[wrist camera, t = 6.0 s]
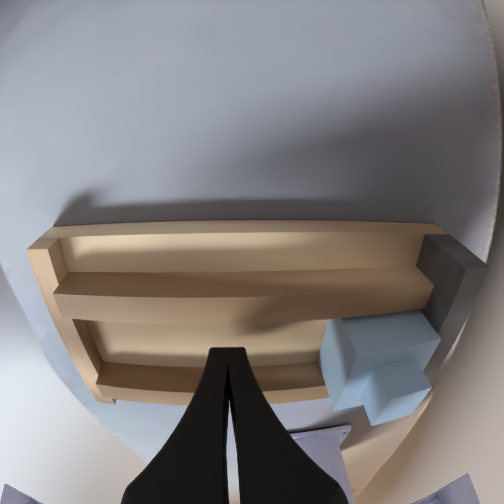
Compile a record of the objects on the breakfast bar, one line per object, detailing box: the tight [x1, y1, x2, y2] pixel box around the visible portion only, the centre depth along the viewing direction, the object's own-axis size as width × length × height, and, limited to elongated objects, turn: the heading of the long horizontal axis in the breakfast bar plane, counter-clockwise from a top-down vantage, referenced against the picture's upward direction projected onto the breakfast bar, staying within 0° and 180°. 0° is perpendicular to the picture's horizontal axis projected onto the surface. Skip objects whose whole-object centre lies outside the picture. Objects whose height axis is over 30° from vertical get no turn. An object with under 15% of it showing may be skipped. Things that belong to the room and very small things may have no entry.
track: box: [27, 220, 489, 406], centre depth 12 cm, size 10×18×4 cm, turn 89°
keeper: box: [318, 309, 441, 426], centre depth 11 cm, size 4×4×5 cm
